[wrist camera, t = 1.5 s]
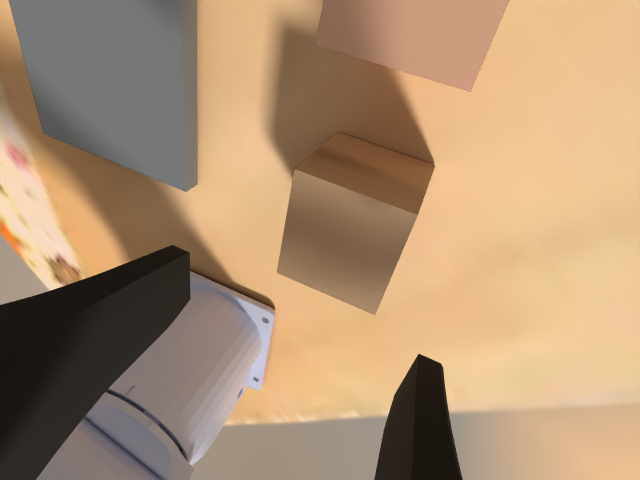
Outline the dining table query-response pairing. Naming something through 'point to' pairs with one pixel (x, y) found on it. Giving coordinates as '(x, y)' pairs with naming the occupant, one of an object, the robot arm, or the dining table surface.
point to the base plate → (117, 79)
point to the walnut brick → (351, 218)
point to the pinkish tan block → (414, 35)
